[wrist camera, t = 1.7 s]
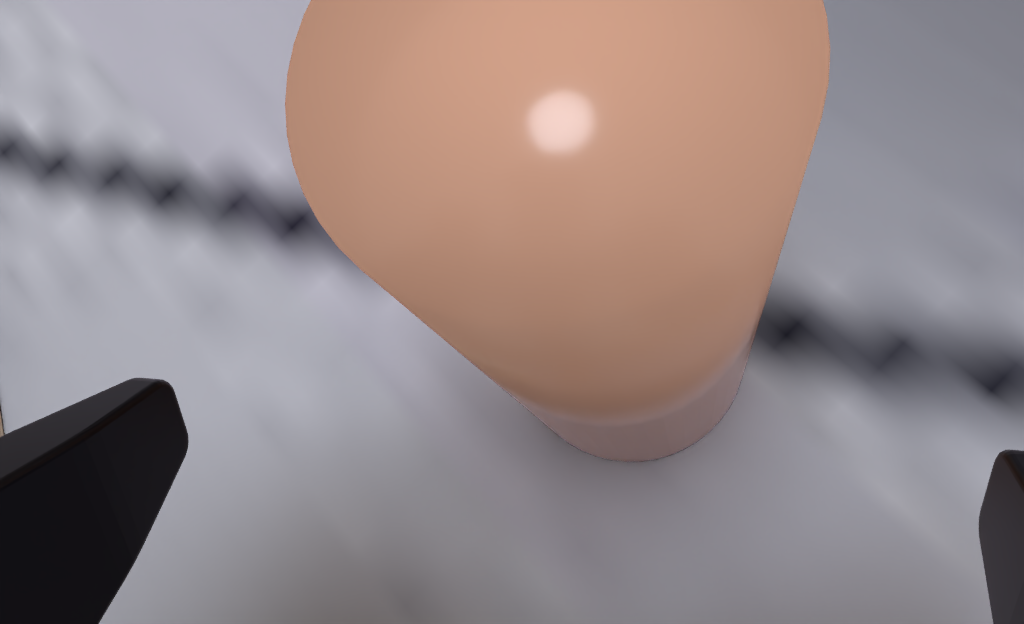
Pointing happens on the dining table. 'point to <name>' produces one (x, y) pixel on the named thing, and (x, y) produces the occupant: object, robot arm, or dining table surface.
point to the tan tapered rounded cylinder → (568, 188)
